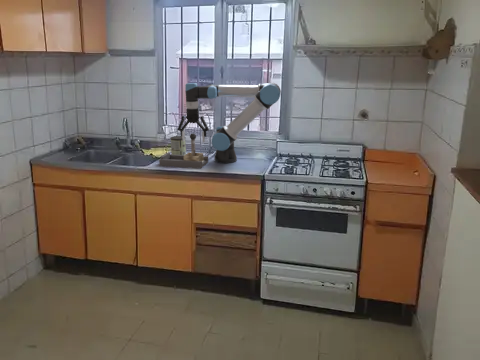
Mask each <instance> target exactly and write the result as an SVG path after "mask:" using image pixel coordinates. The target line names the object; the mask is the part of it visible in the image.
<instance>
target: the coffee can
mask: <svg viewBox="0 0 480 360" xmlns="http://www.w3.org/2000/svg"><path fill="white" fill-rule="evenodd" d="M169 138H170V149H171V150H170V152H171V153H170V154H172V155H186V154H187V150H186V149H187V147H186V142H187V141H186V140H185V141H184V142H182V136H181V135H176V136H175V135H174V136H170V137H169ZM185 139H187V138H186V136H185Z"/></svg>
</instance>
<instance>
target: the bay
mask: <svg viewBox="0 0 480 360" xmlns="http://www.w3.org/2000/svg"><path fill="white" fill-rule="evenodd" d="M158 163H159V164H158V165H159V167H170V166H174V167H173V168H188V167H192V168H191V169H202V168H203V167H205V166H206V165H207V164H208V163H209V156H207V155H203V161H186V160H184V155H172V154H171V153H170V152H166V153H165V154H162V155H160V159H159V162H158Z"/></svg>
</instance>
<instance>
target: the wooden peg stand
mask: <svg viewBox="0 0 480 360" xmlns="http://www.w3.org/2000/svg"><path fill="white" fill-rule="evenodd" d="M189 138H190V145H191V148H190V150H191V152H186V155H184V160H186V161H203V156H204V152H196V138H197V134H195V133H191V134H190V135H189Z"/></svg>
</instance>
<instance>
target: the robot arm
mask: <svg viewBox="0 0 480 360" xmlns="http://www.w3.org/2000/svg"><path fill="white" fill-rule="evenodd" d="M184 88H185V90H184V93H185V108H186V109H185V113H186V115H182V116H181V120H180V122H179V125H178V127H177V131H179V132H180V136H182V142H184V141H185V142H186V138H185V137H186V136H185V135H186V134H185V129H186V127H187V126H188V125H189V124H196V125H197V126H199V128H200V130H202V132H201V133H202V134H201V136H202V143H205V142H206V137H207V132H208V131H210V128H209V126H208V124H207V123H206V121H205V117H204V115H201V116H199V115H200V114H199V99H203V100H205V99H206V100H207V99H209V100H212V99H214V100H215V99H216V98H218V97H222V98H223V97H224V98H225V97H226V98H254V99H253V100H252V101H251V102H249V104H248V105H247V106H246V107H245V108H244V109H243V110H242V111H241V112H239V114H238V115H237V116H236V117H234V119H233V120H231V121H230V122H229V124H227V125H223V126H217V127H216V129H215V132H216V133H215V134H213V136H212V138H211V144H212V147H213V148H214V149H215V150H216V151H215V154H214V162H215V163H219V164H229V163H235V162H236V161H237V158H238V157H237V154H236V151H235V141H237V139H238V135H239V134H240V133H241V132H242V131H243V130H244V129H245V128H246V127H248V126H249V124H251V123H252V122H253V121H254V120H255V119H256V118H257V117H258V116H259V115H260V114H261V113H262V112H263V111H264V110H269V109H270V108H271V107H272V106H273V105H274V104H276V103H277V102H278V101H279V99H280V97H281V95H282V94H281V92H282V91H281V88H280V86H279V85H278V84H277V83H275V82H268V83H267V82H266V83H258V85H256V84H253V85H252V84H250V85H249V84H214V83H211V84H208V85H206V86H202V85H201V86H200V85H199V86H198V83H197V82H188V83H186V84H185V85H184ZM185 120H187V121H185ZM184 122H185V123H184Z"/></svg>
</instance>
